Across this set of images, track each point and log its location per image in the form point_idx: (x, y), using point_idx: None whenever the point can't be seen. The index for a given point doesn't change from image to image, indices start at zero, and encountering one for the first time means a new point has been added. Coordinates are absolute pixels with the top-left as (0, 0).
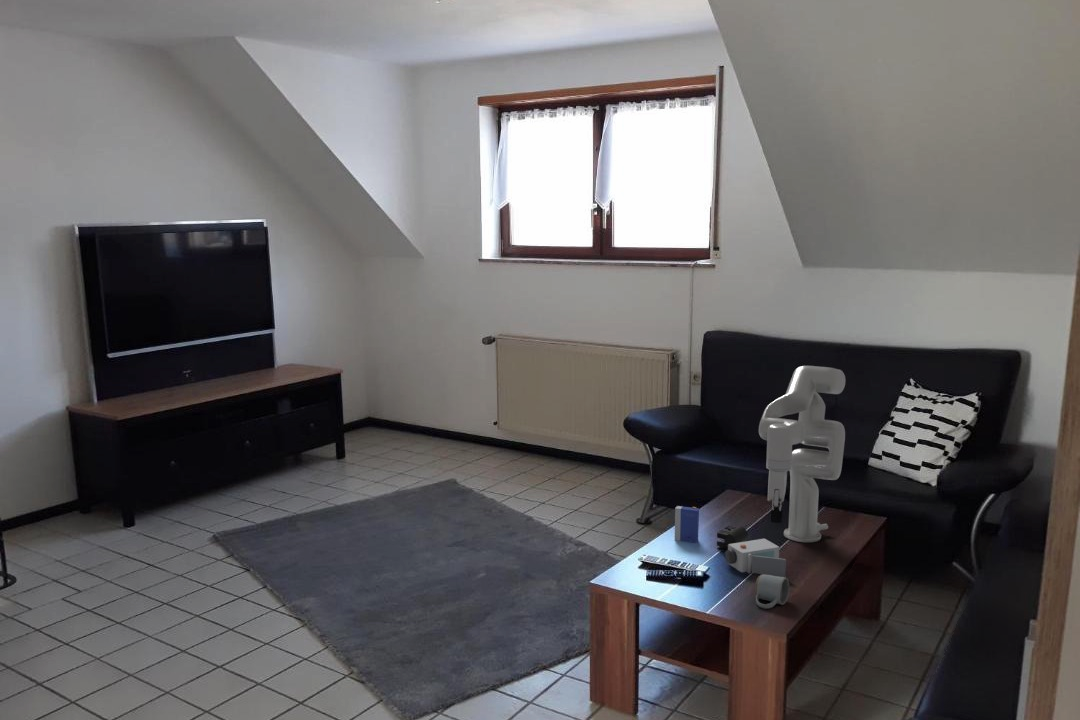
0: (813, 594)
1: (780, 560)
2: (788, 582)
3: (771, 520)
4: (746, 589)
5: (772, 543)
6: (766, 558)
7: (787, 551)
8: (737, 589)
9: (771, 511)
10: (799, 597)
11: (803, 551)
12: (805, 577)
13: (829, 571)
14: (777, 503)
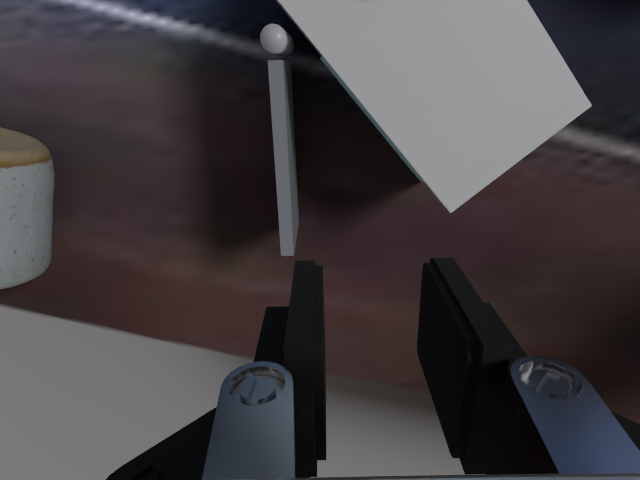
0: (169, 330)
1: (279, 227)
2: (13, 284)
3: (295, 271)
4: (71, 59)
5: (502, 167)
6: (275, 150)
7: (628, 205)
8: (44, 10)
9: (288, 335)
10: (113, 287)
11: (634, 272)
12: (327, 296)
13: (419, 370)
14: None
